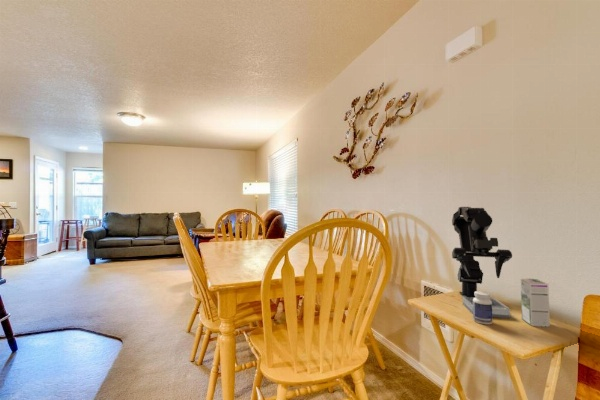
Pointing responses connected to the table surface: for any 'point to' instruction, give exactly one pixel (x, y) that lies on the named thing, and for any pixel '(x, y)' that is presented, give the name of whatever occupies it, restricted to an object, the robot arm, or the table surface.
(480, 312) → the pill bottle
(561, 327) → the table surface
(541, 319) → the syrup box
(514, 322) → the table surface
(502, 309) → the tray
